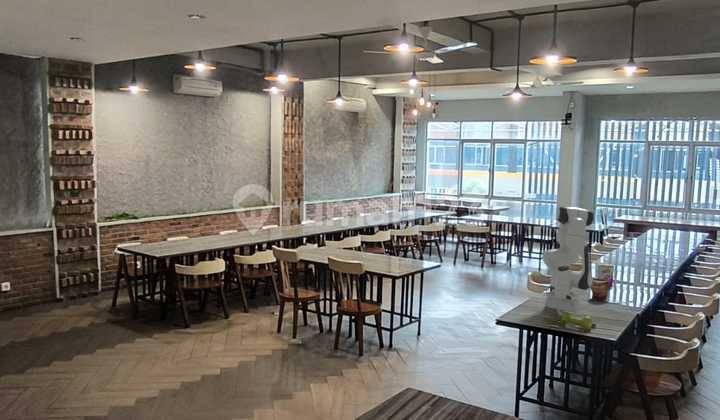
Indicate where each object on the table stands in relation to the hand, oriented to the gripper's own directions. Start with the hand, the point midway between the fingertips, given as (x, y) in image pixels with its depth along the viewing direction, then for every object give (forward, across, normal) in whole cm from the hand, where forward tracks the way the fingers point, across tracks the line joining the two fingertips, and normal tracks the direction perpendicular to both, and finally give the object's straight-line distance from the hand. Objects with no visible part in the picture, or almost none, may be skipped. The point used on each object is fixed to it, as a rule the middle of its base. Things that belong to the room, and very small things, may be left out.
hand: (561, 316), depth 345 cm
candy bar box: (+4, -33, +118) cm, 122 cm away
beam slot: (+4, +5, 0) cm, 6 cm away
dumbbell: (+4, +10, 0) cm, 11 cm away
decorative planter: (+4, -15, +74) cm, 76 cm away
